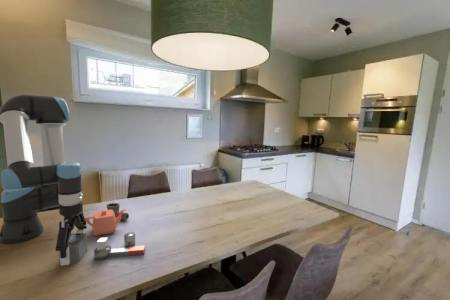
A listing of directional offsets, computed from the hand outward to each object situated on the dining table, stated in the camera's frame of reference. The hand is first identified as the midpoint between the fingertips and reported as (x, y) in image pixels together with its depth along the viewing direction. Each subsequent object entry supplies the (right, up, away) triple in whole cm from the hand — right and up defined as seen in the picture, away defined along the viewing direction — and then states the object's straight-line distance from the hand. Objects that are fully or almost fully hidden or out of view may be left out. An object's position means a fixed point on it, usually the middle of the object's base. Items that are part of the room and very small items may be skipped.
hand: (73, 253), depth 89 cm
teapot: (+2, +1, +22) cm, 22 cm away
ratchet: (+17, -2, +3) cm, 18 cm away
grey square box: (0, -1, 0) cm, 1 cm away
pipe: (+1, +3, +34) cm, 35 cm away
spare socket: (+18, -1, +10) cm, 21 cm away
